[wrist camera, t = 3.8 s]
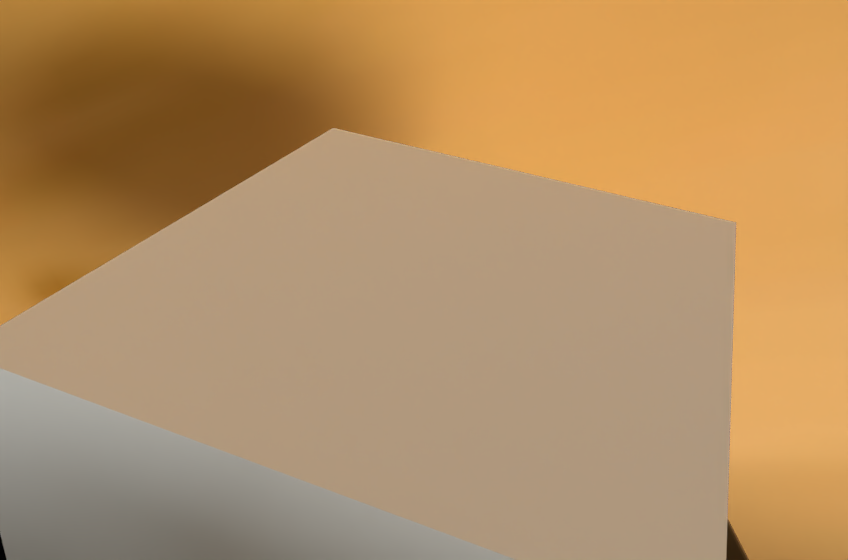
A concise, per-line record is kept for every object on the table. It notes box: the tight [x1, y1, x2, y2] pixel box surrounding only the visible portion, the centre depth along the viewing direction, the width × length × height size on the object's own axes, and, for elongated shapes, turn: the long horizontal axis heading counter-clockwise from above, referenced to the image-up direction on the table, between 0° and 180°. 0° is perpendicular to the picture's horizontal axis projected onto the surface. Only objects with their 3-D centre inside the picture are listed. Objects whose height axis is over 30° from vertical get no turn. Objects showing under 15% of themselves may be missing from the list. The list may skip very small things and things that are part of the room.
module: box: [0, 128, 736, 560], centre depth 7 cm, size 5×4×4 cm
